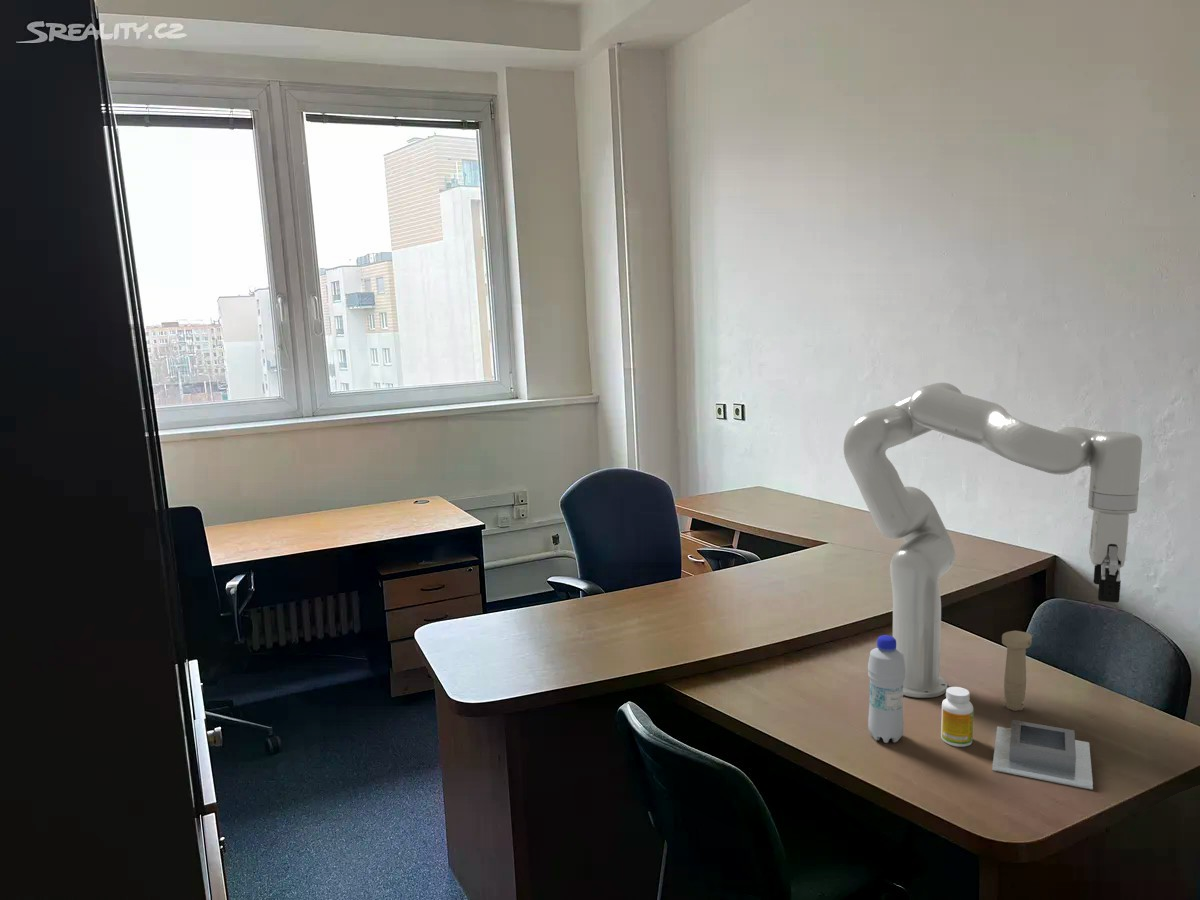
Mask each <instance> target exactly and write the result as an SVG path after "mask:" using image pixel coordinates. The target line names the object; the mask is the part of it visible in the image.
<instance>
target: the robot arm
mask: <svg viewBox="0 0 1200 900" xmlns="http://www.w3.org/2000/svg"><path fill="white" fill-rule="evenodd" d="M931 431H935V432H938V433H942V434H945V435H948V436H951V437H954V438H957V439H961V440H964V441H966V442H970V443H972V444H976V445H978V446H981V447H983V448H985V449H986V450H988V451H990V452H991V453H994V454H996V455H998V456H999V457H1003V458H1004V459H1007V460H1010V461H1011V462H1014V463H1016V464H1019V465H1021V466H1025V467H1029V468H1031V469H1034V470H1037V471H1041V472H1043V473H1048V474H1052V475H1060V476H1061V475H1069V474H1072V473H1074V472H1076V471H1077V470H1079V469H1080V468H1084V467H1089V468H1090V473H1089V475H1090V476H1089V489H1088V501H1087V508H1088V509H1090V510H1091V511H1093V513H1092V520H1091V529H1090V540H1089V541H1090V542H1089V549H1088V553H1089V555H1088V556H1089V558H1090V561H1091V564H1092V565H1093V566H1094V569H1093V584H1095V585H1098V590H1097V591H1098V594H1097V599H1098V601H1100V602H1105V603H1106V602H1108V603H1114V604H1115V603H1116V604H1118V603H1119V602H1120V595H1121V582H1122V581H1121V569H1122V568H1123V567H1124V566H1125V561H1126V554H1127V545H1128V537H1129V536H1128V533H1129V532H1128V531H1129V520H1130V514H1135V513H1137V512H1138V502H1139V490H1140V476H1141V466H1142V451H1143V440H1142V438H1141V437H1140V436H1139V435H1138V434H1136V433H1132V432H1126V431H1125V432H1124V431H1099V430H1098V431H1097V430H1094V429H1093V430H1092V429H1086V428H1081V427H1077V426H1071V427H1070V426H1069V427H1063V428H1061V429H1058V430H1057V431H1053V430H1051V429H1050V430H1049V429H1046V428H1043V427H1040V426H1036V425H1033V424H1029V423H1028V422H1024V421H1023V420H1020V419H1018V418H1016V417H1014V416H1012V415H1011V414H1010V413H1009V412H1008V411H1007V410H1006V409H1005V408H1004V407H1003V406H1002V405H1000V404H998V403H996V402H992V401H988V400H986V399H985V400H984V399H981V398H977V397H975V396H971V395H969V394H964V393H963V392H962V391H961V390H960V389H959V388H958V387H956V386H955V385H953V384H950V383H949V382H936V383H932V384H928V385H924V386H921V387H920V388H918V389H916V390H915V391H914V392H913V393H912V395H911V396H909V397H906V398H905V399H903V400H900V401H898V402H896V403H893V404H891V405H889V406H887V407H883V408H882V407H881V408H878V409H874V410H871V411H869V412H867V413H865V414H863V415H861V416H860V417H858V418H857V419H856V420H855V421H854V422H853V423H852V424H851V425H850V427H849V428H848V430H847V432H846V434H845V437H844V441H843V455H844V459H845V461H846V464H847V466H848V469H849V471H850V473H851V474H852V476H853V479H854V481H855V482H856V485H857V487H858V489H859V491H860V494H861V496H862V498H863V500H864V502H865V505H866V507H867V509H868V511H869V513H870V516H871V518H872V520H873V522H874V524H875V526H876V528H877V530H878V531H879V532H880V533H881V535H883V537H884V536H885V538H889V539H896V540H897V539H903V541H904V544H902V545H901V546H900V547H898V549H897V550H896V551H895V552H894V553H893V555H892V557H891V561H890V563H889V564H890V565H889V575H890V581H891V590H892V637H894V638H895V640H896V649H897V650H899V651H901V652H902V653H903V655H904V662H905V669H906V672H905V679H904V681H903V696H906V697H911V698H916V699H917V698H919V699H927V698H936V697H940V696H942V695H944V694H946V689H947V688H948V682H947V681H946V679H945V678H943V676H941V675H940V673H941V639H942V638H941V636H942V634H941V630H942V601H941V600H942V599H941V598H942V597H941V593H940V592H941V591H940V585H939V582H940V579H941V578H942V577H943V576H944V575H945V574H946V573H947V572H948V571H950V569H952V567H953V565H954V564H955V561H956V551H955V550H956V549H955V547H954V543H953V541H952V539H951V537H950V535H949V533H948V531H947V529H946V527H945V524H944V523H943V521H942V518H941V516H940V514H939V512H938V510H937V508H936V506H935V504H934V502H933V501H932V499H931V498H930V496H929V495H928V494H927V493H926V492H924V491H923V490H921V489H919V488H917V487H913V486H905V485H904V484H903V481H902V479H901V478H900V475H899V472H898V470H897V468H896V466H894V464H893V463H892V462H891V461H890V460H889V458H888V457H887V455H886V451H887V450H888V449H890V448H893V447H896V446H899V445H902V444H904V443H906V442H908V441H911V440H913V439H915V438H918V437H920V436H922V435H924V434H926V433H928V432H931Z"/></svg>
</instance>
